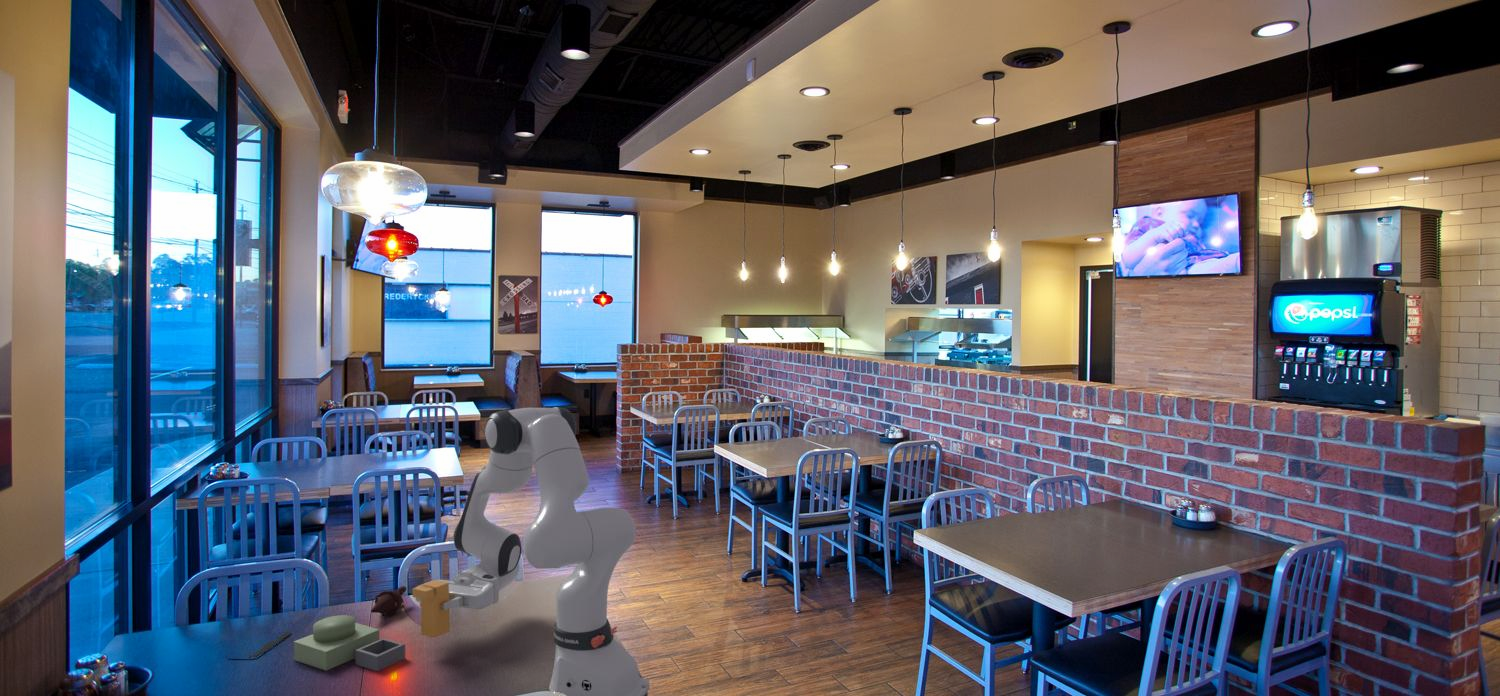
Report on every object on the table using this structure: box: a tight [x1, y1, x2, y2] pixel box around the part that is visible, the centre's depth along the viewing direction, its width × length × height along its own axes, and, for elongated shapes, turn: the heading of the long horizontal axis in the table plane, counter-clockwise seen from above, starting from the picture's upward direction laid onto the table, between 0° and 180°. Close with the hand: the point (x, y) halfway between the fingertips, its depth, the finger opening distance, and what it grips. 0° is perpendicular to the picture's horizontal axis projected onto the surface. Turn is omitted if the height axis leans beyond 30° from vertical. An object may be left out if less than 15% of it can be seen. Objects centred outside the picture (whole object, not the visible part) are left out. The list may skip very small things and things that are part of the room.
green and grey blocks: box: [293, 614, 406, 672], centre depth 183 cm, size 23×14×8 cm, turn 63°
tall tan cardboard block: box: [412, 579, 451, 639], centre depth 184 cm, size 4×7×12 cm
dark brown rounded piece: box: [370, 585, 407, 617], centre depth 210 cm, size 7×7×15 cm
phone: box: [227, 631, 292, 658], centre depth 190 cm, size 7×1×15 cm
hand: (432, 605), depth 184 cm, fingers closed on tall tan cardboard block, 5 cm apart
